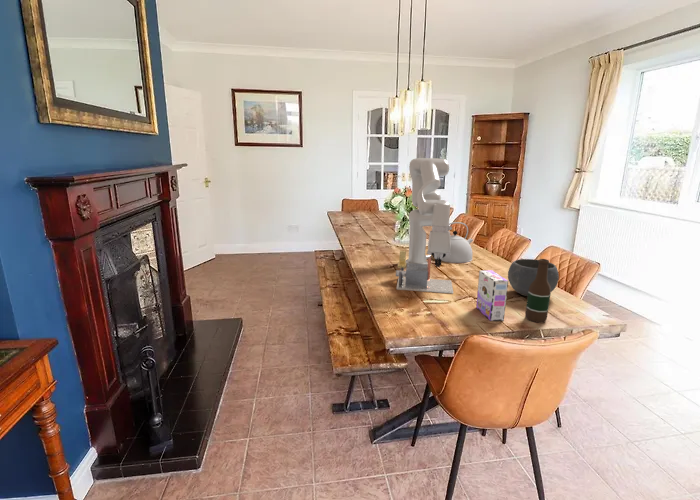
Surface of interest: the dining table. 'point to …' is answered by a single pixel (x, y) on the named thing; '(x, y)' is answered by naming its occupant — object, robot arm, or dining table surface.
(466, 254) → the kettle
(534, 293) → the beer bottle
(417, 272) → the hitch block
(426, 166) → the robot arm
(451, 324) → the dining table surface
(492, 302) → the candy box
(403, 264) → the plate
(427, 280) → the lynch pin
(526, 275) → the bowl
